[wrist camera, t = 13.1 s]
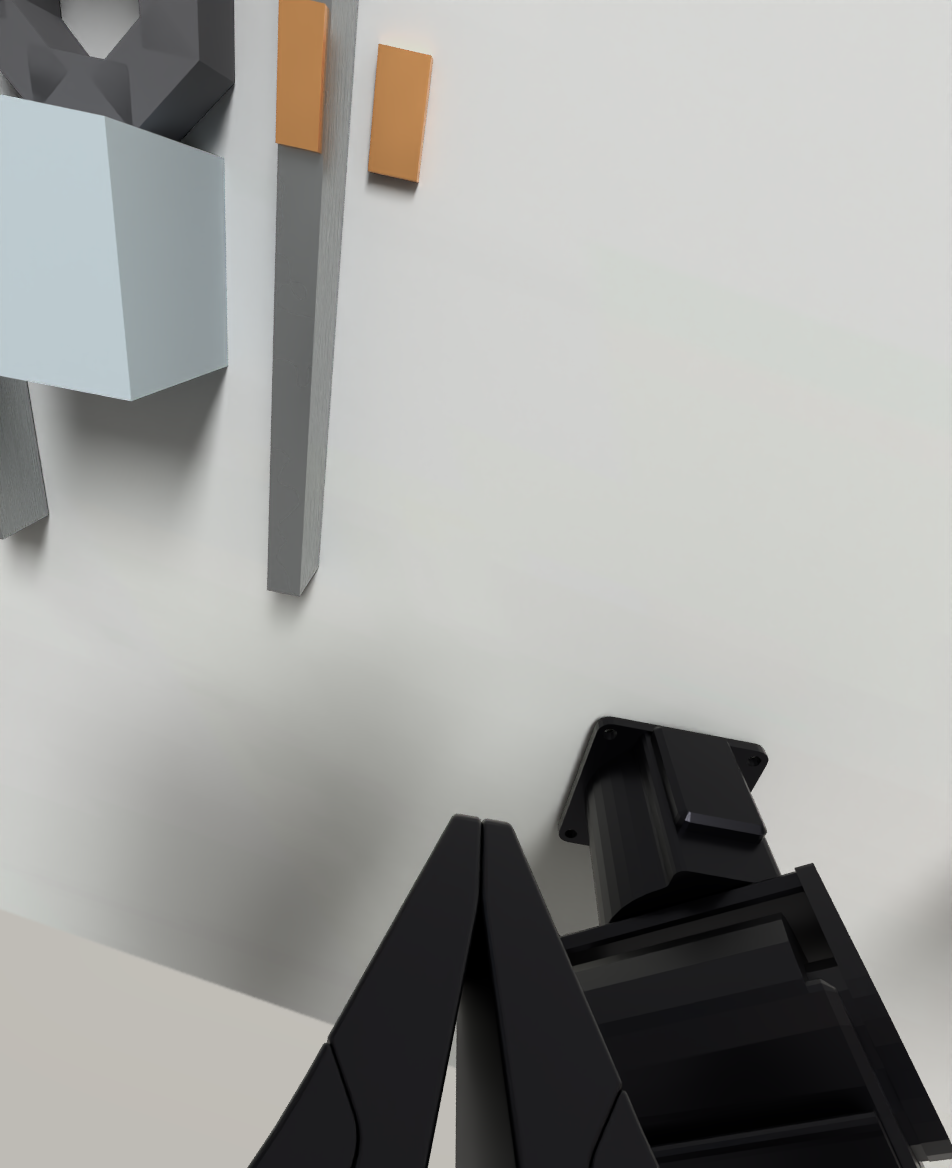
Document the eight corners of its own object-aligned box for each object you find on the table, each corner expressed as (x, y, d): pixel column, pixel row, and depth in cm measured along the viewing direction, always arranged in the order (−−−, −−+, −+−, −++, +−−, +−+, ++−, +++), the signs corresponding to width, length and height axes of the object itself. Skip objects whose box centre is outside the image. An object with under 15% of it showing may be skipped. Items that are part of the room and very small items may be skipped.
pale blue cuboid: (228, 365, 17) (131, 401, 13) (89, 338, 17) (-56, 365, 13) (225, 158, 15) (104, 115, 11) (63, 124, 15) (-126, 67, 10)
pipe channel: (371, 577, 20) (355, 612, 18) (-38, 498, 20) (-101, 525, 18) (476, -302, 11) (467, -424, 9) (-270, -487, 11) (-451, -660, 9)
